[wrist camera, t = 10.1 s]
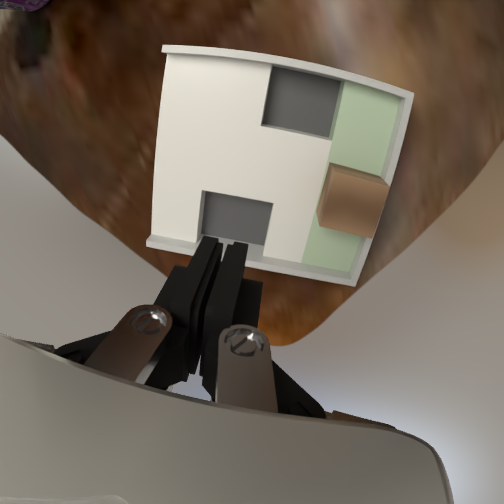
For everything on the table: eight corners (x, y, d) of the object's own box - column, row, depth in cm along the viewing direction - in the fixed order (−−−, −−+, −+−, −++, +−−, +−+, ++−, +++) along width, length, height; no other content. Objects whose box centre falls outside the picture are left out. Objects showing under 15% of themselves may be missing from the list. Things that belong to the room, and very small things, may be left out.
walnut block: (329, 162, 28) (335, 171, 25) (379, 175, 28) (390, 186, 25) (315, 211, 30) (319, 226, 27) (363, 223, 30) (372, 238, 27)
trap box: (177, 49, 26) (162, 44, 23) (399, 92, 26) (414, 93, 23) (159, 230, 36) (146, 246, 32) (349, 266, 36) (355, 286, 32)
